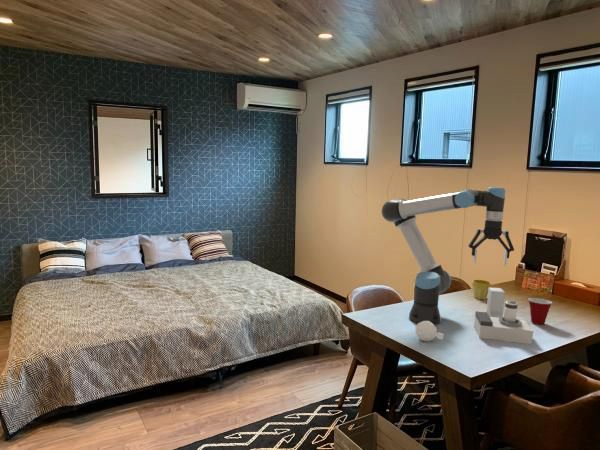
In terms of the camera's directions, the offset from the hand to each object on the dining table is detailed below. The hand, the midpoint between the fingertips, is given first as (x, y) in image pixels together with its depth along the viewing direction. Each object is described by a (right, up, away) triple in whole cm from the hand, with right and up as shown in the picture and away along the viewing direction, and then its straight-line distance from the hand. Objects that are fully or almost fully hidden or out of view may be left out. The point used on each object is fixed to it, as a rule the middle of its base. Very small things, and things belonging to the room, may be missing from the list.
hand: (489, 263), depth 216 cm
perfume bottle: (-35, -33, -19) cm, 51 cm away
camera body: (+2, -32, -8) cm, 34 cm away
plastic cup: (+29, -31, +10) cm, 43 cm away
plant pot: (+16, -25, +51) cm, 58 cm away
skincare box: (+8, -30, +14) cm, 34 cm away
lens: (+5, -27, -10) cm, 29 cm away
